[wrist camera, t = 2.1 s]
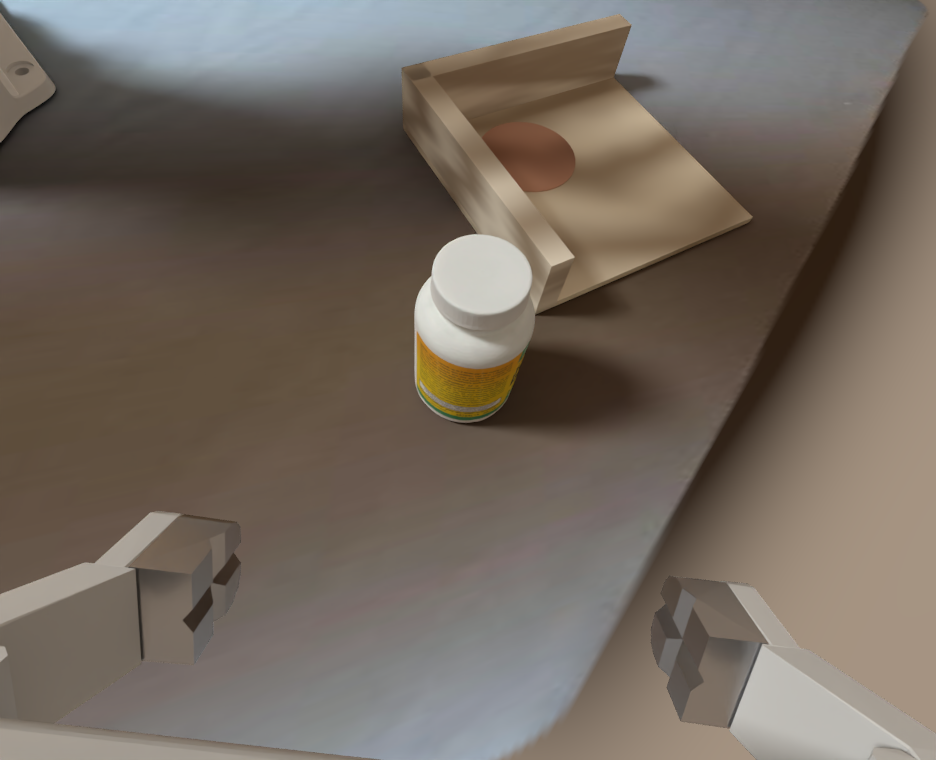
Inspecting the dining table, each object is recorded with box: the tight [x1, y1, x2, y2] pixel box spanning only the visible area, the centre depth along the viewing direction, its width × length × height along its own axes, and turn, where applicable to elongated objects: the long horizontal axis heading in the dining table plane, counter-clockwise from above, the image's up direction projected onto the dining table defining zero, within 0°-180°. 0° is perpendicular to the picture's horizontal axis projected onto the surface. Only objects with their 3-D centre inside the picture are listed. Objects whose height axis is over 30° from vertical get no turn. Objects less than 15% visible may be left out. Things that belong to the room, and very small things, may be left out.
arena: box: [402, 14, 753, 315], centre depth 35 cm, size 18×18×4 cm
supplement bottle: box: [414, 234, 535, 423], centre depth 25 cm, size 5×5×10 cm
